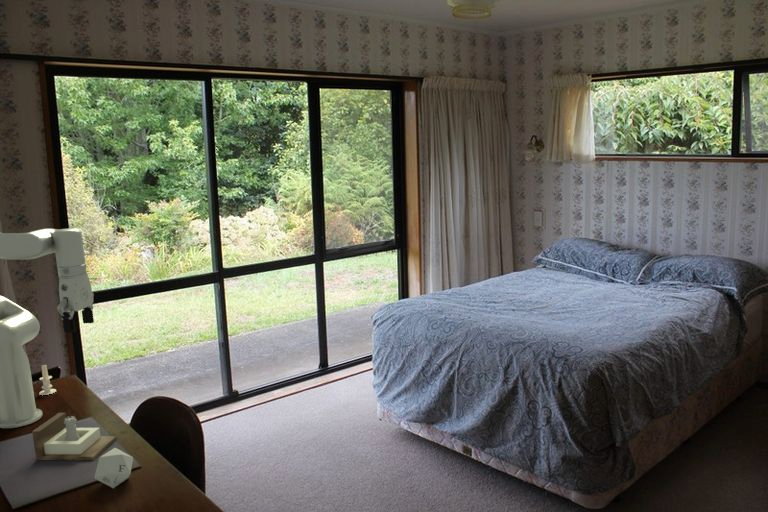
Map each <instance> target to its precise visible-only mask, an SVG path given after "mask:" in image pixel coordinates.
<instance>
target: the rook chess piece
mask: <svg viewBox="0 0 768 512" xmlns="http://www.w3.org/2000/svg"><path fill="white" fill-rule="evenodd" d="M77 420H78V419H77V418H76V416H74V415H70V416H66V418H65V421H64V424H65V425H66V427H65V428H66V431H67V433H66V440H65V441H78V440H79V439H80V438H81V437H79V435H78V433H77V430H76V428H77V424H76V422H77Z"/></svg>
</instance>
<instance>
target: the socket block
mask: <svg viewBox="0 0 768 512" xmlns="http://www.w3.org/2000/svg"><path fill="white" fill-rule="evenodd" d="M76 430H77V433H78V435H79V437H81V438H80V439H79V440H78V441H65V440H66V433H67V431H66V428H64V429H63V430H62V431H60V432H59V433H58V434H56V435H55V436H54V437H52V438H51V439H50V440H48V441H47V442H46V443H44V450H45V454H82V453H83V452H84V451H85V450H87V449H88V448H89V447H90V446H91V445H92V444H94V443H95V442H96V441H97V440H98V439H100V438H101V432H100V431H101V428H100V427H76Z"/></svg>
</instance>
